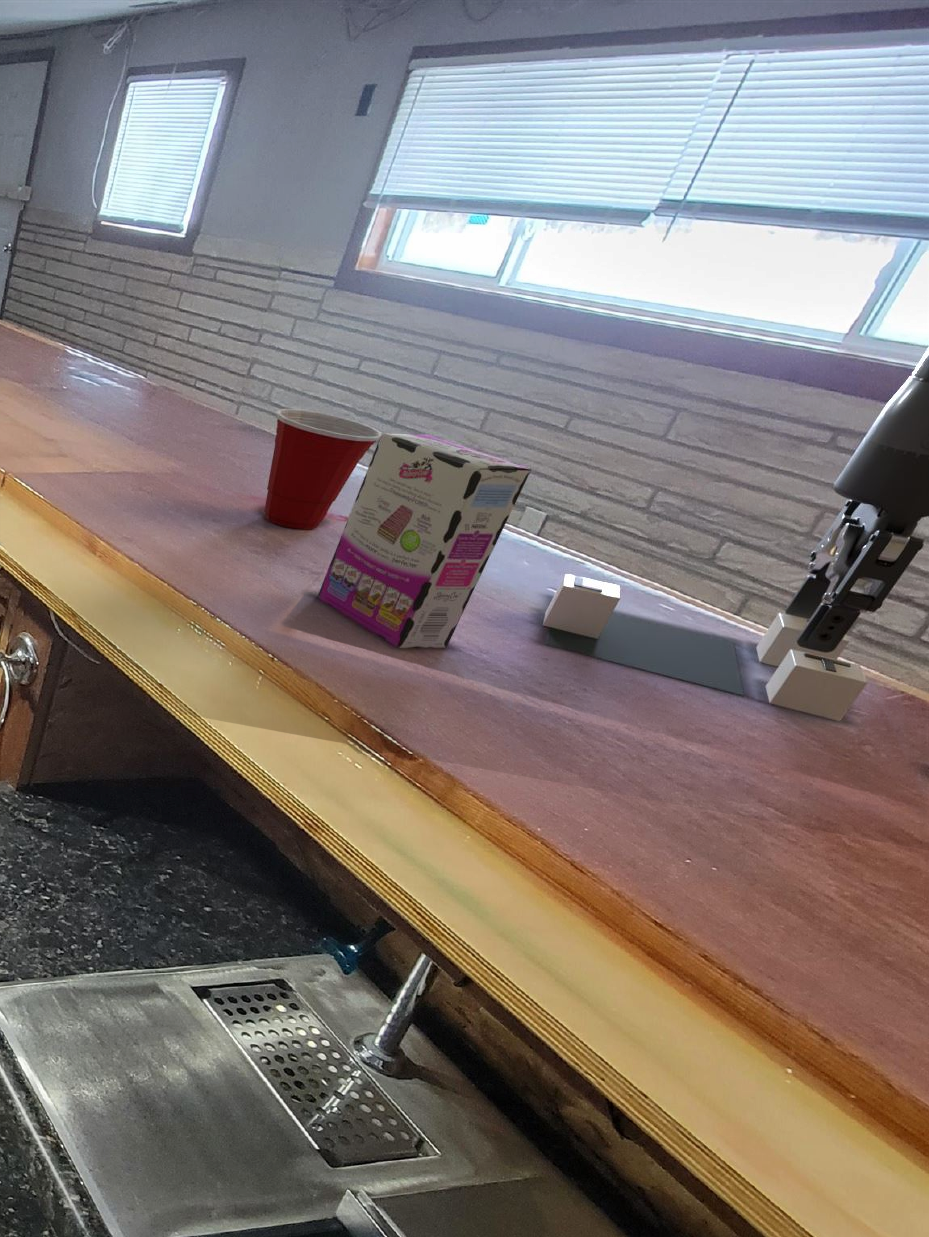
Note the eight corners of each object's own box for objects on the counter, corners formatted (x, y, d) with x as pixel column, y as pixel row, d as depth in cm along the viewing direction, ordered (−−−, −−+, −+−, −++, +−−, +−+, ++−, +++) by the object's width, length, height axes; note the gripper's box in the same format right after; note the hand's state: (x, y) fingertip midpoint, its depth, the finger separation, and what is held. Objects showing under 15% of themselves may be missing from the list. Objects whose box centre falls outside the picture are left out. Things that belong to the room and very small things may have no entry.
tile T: (829, 708, 79) (861, 664, 77) (835, 727, 76) (869, 681, 74) (761, 691, 81) (791, 647, 79) (765, 709, 78) (796, 663, 76)
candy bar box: (448, 653, 85) (537, 468, 77) (396, 653, 85) (480, 468, 76) (359, 600, 95) (429, 431, 87) (312, 600, 94) (378, 430, 86)
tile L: (599, 625, 90) (621, 584, 88) (597, 639, 87) (621, 597, 85) (545, 612, 92) (566, 572, 90) (542, 625, 90) (564, 584, 88)
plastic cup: (355, 543, 109) (398, 436, 103) (249, 529, 112) (285, 424, 106) (333, 514, 118) (372, 414, 112) (236, 501, 121) (268, 403, 115)
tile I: (814, 667, 86) (843, 625, 83) (820, 683, 83) (850, 640, 81) (752, 652, 88) (779, 611, 86) (755, 667, 85) (784, 625, 83)
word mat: (730, 647, 89) (734, 641, 88) (740, 702, 79) (744, 696, 79) (552, 604, 96) (555, 599, 95) (542, 650, 86) (545, 644, 86)
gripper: (1035, 474, 69) (882, 676, 77) (985, 439, 78) (854, 622, 86) (883, 450, 73) (753, 644, 81) (853, 420, 82) (740, 596, 90)
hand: (805, 632), depth 83 cm, fingers open, 8 cm apart
